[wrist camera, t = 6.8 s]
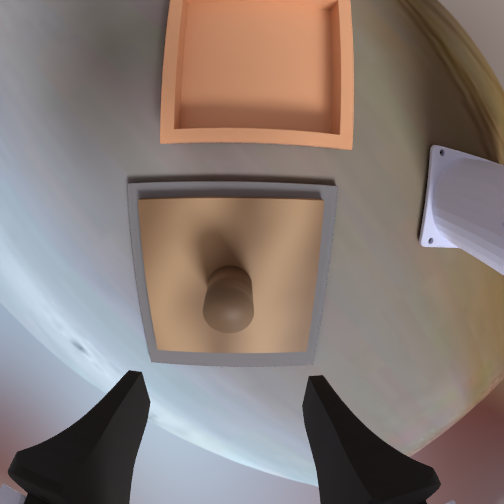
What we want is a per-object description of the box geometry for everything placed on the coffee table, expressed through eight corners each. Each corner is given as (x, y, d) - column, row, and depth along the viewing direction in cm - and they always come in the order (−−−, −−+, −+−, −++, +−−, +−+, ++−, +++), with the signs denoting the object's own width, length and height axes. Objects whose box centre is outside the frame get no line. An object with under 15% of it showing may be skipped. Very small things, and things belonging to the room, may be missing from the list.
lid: (321, 199, 19) (341, 212, 15) (305, 347, 23) (315, 381, 19) (140, 198, 18) (117, 211, 15) (159, 345, 22) (147, 379, 19)
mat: (335, 185, 19) (337, 186, 19) (311, 361, 24) (312, 364, 24) (129, 182, 18) (127, 183, 18) (152, 359, 24) (151, 361, 23)
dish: (337, 8, 14) (349, -7, 12) (338, 149, 18) (352, 149, 16) (180, 0, 14) (172, -16, 11) (170, 144, 18) (160, 143, 15)
